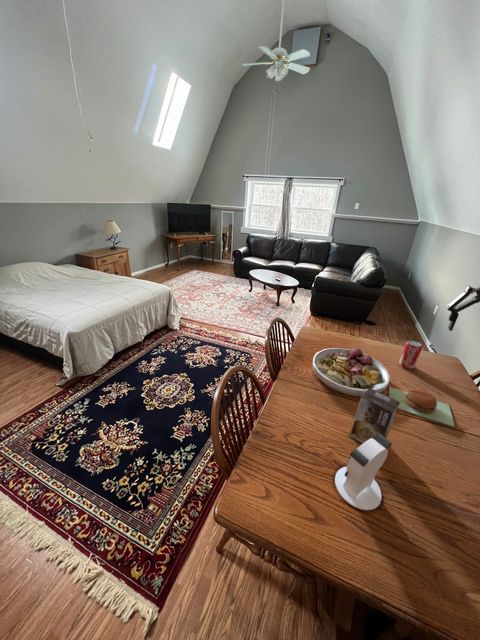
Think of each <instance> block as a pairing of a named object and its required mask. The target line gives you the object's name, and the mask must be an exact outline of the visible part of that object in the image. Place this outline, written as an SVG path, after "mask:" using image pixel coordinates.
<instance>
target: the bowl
mask: <svg viewBox="0 0 480 640" xmlns="http://www.w3.org/2000/svg"><path fill="white" fill-rule="evenodd" d="M312 359H313V360H312V369H313V372H314V373H315V375H316V377H317V378H318V379H319V380H320V381H321V382H322V383H323V384H324V385H325V386H327V387H328V388H330V389H332V390H334V391H336V392H338V393H341V394H344V395H347V396H351V397H360V398H361V396H362V395H363V394H364V393H365V392H366V391H367V390H368V389H369V388H372V389H374V390H376V391H378V392H380V393H383V392H384V391H385V390H386V389H387V388H388V386H389V383H390V380H391V377H390V376H391V375H390V373H389V371H388V369H387V368H386V367H385V365H383V364H382V363H381V362H380V361H378V360H376V359H375V358H373V357H372V356H371V355H369V354H365V353H363V351H362V350H361V349H360V348H358V347H357V348H356V347H354V348H351V349H348V348H340V347H331V348H324V349H321V350H319V351H318V352H316V353H315V355H314V356H313V358H312Z"/></svg>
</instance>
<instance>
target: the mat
mask: <svg viewBox="0 0 480 640" xmlns="http://www.w3.org/2000/svg"><path fill="white" fill-rule="evenodd" d="M408 392H409V391H406V390H402V389H398V388H395V387H391V386H389V387H388V396H389V397H391V398H393V399H395V400H397V401H399V402H400V404H399V407H398V409H397V410H400V411H403V412H406V413H409V414H412V415H415V416H417V417H421V418H423V419H427V420H430V421H433V422H436V423H439V424H443V425H445V426H448V427H451V428H455V427H456V425H455V421H454V417H453V415H452V411H451V407H450V405H449V404H448V403H445V402H442V401H438V400H436V401H437V406H436V408H435V411H434V412H433V413H430V414H428V413H424V412H421V411H419V410H417V409H414V408H412V407H410V406H409V405H408V404H407V403H406V401H405V399H406V394H407V393H408Z"/></svg>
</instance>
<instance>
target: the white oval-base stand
mask: <svg viewBox="0 0 480 640" xmlns="http://www.w3.org/2000/svg"><path fill="white" fill-rule="evenodd" d="M392 444H393V442H391V440H389V439H388V438H387V439H386V438H385V437H383V436H382V435H381V434H379V433H377V434H376V435H375V436H374V438H372V439H369V440H367V441H366V442H364V443H361V444H360V445H359V446H358V447H357V448H353V449H352V450H351V452H350V454H349V456H350V457H349V458H348V460H347V463H346V464H347V465H346V466H343V467H341V468H340V469H338V470H337V471H336V473H335V477H334V484H335V488H336V491H337V492H338V494H339V495H340V497H341V499H343V500H344V502H346V503H348V504H349V505H350V506H352V507H354V508H356V509H359V510H362V511H372V510H375V509H376V508H378V507H379V506H380V504H381V503H382V502H381V501H382V490H381V488H380V486H379V484H378V482H377V481H376V480H375V478H376V475H377V473H378V471H379V470H381V468H382V467H383V465H384V463H385V462H386V460H387V458H388V454H389V449H390V448H391V447H392Z"/></svg>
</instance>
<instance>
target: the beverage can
mask: <svg viewBox="0 0 480 640" xmlns="http://www.w3.org/2000/svg"><path fill="white" fill-rule="evenodd" d="M422 348H423V347H422V343H420V342H419V341H416V340H408V341H407V342H406V343H405V345H404V348H403V350H402V353H401V355H400V359H399V361H398V363H399V365H400V366H401V367H403V368H405V369H414V368H415V367H416V365H417V362H418V359H419V356H420V354H421V352H422Z"/></svg>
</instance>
